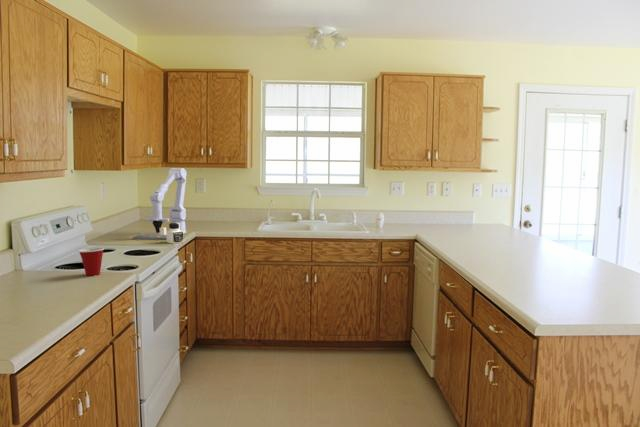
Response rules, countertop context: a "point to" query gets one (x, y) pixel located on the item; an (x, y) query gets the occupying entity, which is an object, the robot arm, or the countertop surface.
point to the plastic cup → (92, 260)
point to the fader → (163, 231)
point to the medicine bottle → (174, 234)
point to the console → (150, 236)
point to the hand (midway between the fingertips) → (158, 232)
